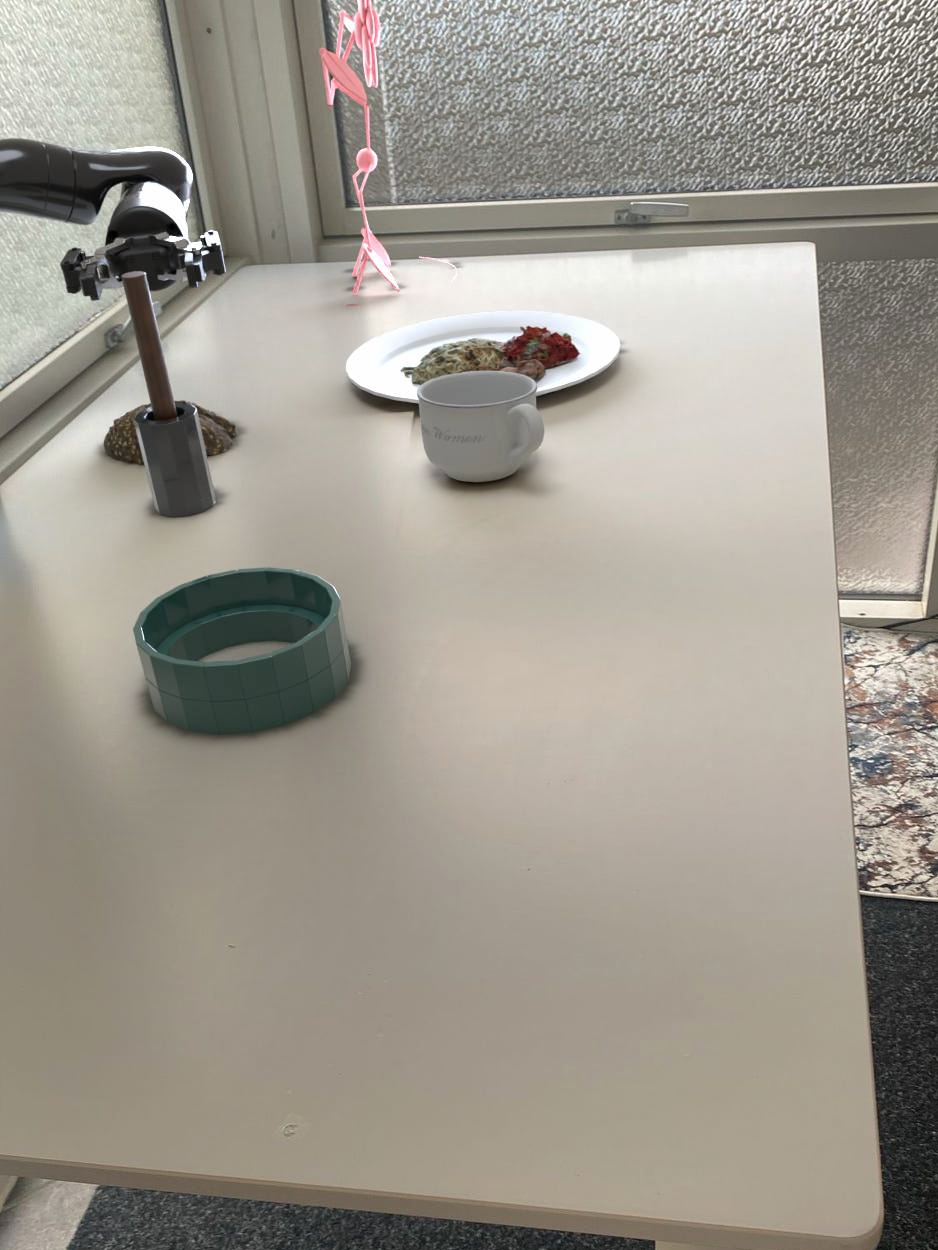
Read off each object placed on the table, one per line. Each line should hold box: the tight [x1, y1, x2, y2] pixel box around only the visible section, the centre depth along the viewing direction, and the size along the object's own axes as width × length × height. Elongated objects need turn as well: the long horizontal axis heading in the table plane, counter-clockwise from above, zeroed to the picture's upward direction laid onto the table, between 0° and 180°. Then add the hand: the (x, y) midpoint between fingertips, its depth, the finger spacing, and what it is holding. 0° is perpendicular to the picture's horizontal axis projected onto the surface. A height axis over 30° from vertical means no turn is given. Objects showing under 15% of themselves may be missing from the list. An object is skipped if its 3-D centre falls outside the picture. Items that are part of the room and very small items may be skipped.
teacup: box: [417, 371, 545, 483], centre depth 121 cm, size 14×11×8 cm
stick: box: [121, 271, 178, 421], centre depth 116 cm, size 2×2×20 cm
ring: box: [132, 566, 352, 735], centre depth 94 cm, size 14×14×6 cm
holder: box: [134, 403, 217, 518], centre depth 119 cm, size 5×5×9 cm
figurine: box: [318, 0, 461, 307], centre depth 167 cm, size 15×26×35 cm, turn 5°
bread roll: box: [103, 399, 238, 466], centre depth 134 cm, size 13×12×5 cm
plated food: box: [345, 310, 621, 404], centre depth 146 cm, size 30×30×3 cm
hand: (141, 282), depth 115 cm, fingers open, 8 cm apart
